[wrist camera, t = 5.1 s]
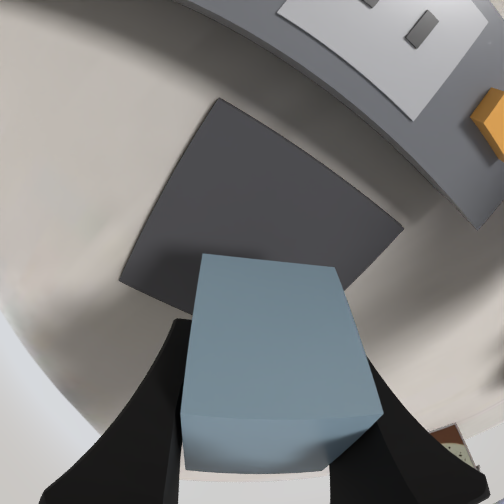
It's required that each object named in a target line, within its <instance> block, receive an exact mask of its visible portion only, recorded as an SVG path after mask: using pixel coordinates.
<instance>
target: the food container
mask: <svg viewBox="0 0 504 504" xmlns="http://www.w3.org/2000/svg"><path fill="white" fill-rule="evenodd" d="M429 433H430V434H431V435H432V436H433V437H434V438H435V439H436V440H437V441H438V442H440V443H441V444H442V445H443V446H444V447H445V448H447V449H448V450H449V451H450V452H452V453H453V454H454V455H456V456H457V457H458V458H460V459H461V460H462V461H464V462H465V463H467V464H468V465H470V466H471V467H473V468H475V469H476V470H478V471H479V472H480V465H478V466H475V464H474V461H473V459H472V457H471V454H470V452H469V450H468V448H467V445H466V443H465V441H464V439H463V437H462V434H461V432H460V430H459V428H458V426H457V424H456V422H455V423H453V424H450V425H447V426H444V427H441V428H439V429H436V430H433V431H430V432H429Z"/></svg>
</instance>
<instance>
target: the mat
mask: <svg viewBox="0 0 504 504" xmlns="http://www.w3.org/2000/svg"><path fill="white" fill-rule="evenodd" d="M403 230H404V228H403V227H402V225H401V224H400V223H398V222H397V221H396V220H395V219H394V218H392V217H391V216H390V215H389V214H388V213H386V212H385V211H384V210H383V209H381V208H380V207H379V206H378V205H376V204H375V203H374V202H373V201H371V200H370V199H369V198H368V197H366V196H365V195H364V194H363V193H361V192H360V191H359V190H357V189H356V188H355V187H353V186H352V185H351V184H349V183H348V182H347V181H345V180H344V179H343V178H341V177H340V176H339V175H337V174H336V173H335V172H333V171H332V170H331V169H329V168H328V167H326V166H325V165H324V164H322V163H321V162H319V161H318V160H317V159H315V158H314V157H312V156H311V155H309V154H308V153H307V152H305V151H304V150H302V149H301V148H299V147H298V146H296V145H295V144H293V143H292V142H290V141H289V140H287V139H286V138H284V137H283V136H281V135H280V134H278V133H277V132H275V131H274V130H272V129H270V128H269V127H267V126H266V125H264V124H263V123H261V122H259V121H258V120H256V119H255V118H253V117H251V116H250V115H248V114H246V113H245V112H243V111H241V110H240V109H238V108H236V107H235V106H233V105H231V104H230V103H228V102H226V101H224V100H223V99H221V98H218V100H217V101H216V103H215V104H214V106H213V107H212V109H211V111H210V112H209V114H208V115H207V117H206V118H205V120H204V122H203V123H202V125H201V126H200V128H199V130H198V131H197V133H196V135H195V136H194V138H193V140H192V141H191V143H190V145H189V146H188V148H187V150H186V151H185V153H184V155H183V156H182V158H181V160H180V162H179V163H178V165H177V167H176V169H175V170H174V172H173V174H172V176H171V177H170V179H169V181H168V183H167V185H166V187H165V188H164V190H163V192H162V194H161V196H160V198H159V200H158V201H157V203H156V205H155V207H154V209H153V211H152V213H151V215H150V217H149V219H148V221H147V223H146V225H145V227H144V229H143V231H142V233H141V235H140V237H139V239H138V241H137V243H136V245H135V247H134V249H133V251H132V253H131V255H130V257H129V260H128V262H127V264H126V266H125V268H124V270H123V273H122V275H121V277H120V279H119V281H120V282H122V283H124V284H126V285H128V286H130V287H132V288H134V289H136V290H139V291H141V292H143V293H145V294H147V295H149V296H151V297H153V298H156V299H158V300H160V301H162V302H164V303H166V304H169V305H171V306H173V307H175V308H178V309H180V310H182V311H184V312H187V313H189V314H191V315H193V311H194V304H195V298H196V291H197V285H198V278H199V272H200V266H201V260H202V254H212V255H222V256H231V257H240V258H250V259H259V260H269V261H278V262H288V263H298V264H307V265H317V266H327V267H335V269H336V272H337V275H338V277H339V280H340V283H341V285H342V288H343V291H344V290H345V289H347V288H348V287H349V286H350V285H351V284H352V283H353V282H354V281H355V280H356V279H357V278H358V277H359V276H360V275H361V274H362V273H363V272H364V271H365V270H366V269H367V268H368V267H369V266H370V265H371V264H372V263H373V262H374V260H375V259H376V258H377V257H378V256H379V255H380V254H381V253H382V252H383V251H384V250H385V249H386V248H387V247H388V246H389V245H390V244H391V243H392V242H393V241H394V239H395V238H396V237H397V236H398V235H399V234H400V233H401V232H402V231H403Z"/></svg>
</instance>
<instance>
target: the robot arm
mask: <svg viewBox="0 0 504 504" xmlns="http://www.w3.org/2000/svg"><path fill="white" fill-rule="evenodd" d="M191 325H192V320H186V319H178V318H177V319H175V320H174V321H173V324H172V327H171V329H170V331H169V334H168V336H167V338H166V340H165V342H164V344H163V346H162V348H161V350H160V352H159V354H158V356H157V357H156V359H155V361H154V363H153V364H152V366H151V368H150V370H149V371H148V373H147V375H146V376H145V378H144V379H143V381H142V383H141V384H140V386H139V387H138V389H137V390H136V392H135V393H134V395H133V396H132V398H131V399H130V401H129V402H128V403H127V405H126V406H125V407H124V409H123V410H122V412H121V413H120V414H119V415H118V417H117V418H116V419H115V421H114V422H113V423H112V424H111V425H110V427H109V428H108V429H107V430H106V431H105V433H104V434H103V435H102V436H101V437H100V438H99V440H98V441H97V442H96V443H95V444H94V445H93V446H92V447H91V448H90V449H89V450H88V451H87V452H86V453H85V454H84V455H83V456H82V457H81V458H80V459H79V460H78V461H77V462H76V463H75V464H74V465H73V466H72V467H71V468H70V469H69V470H68V471H67V472H65V473H64V474H63V475H62V476H61V477H60V478H59V479H57V480H56V481H55V482H54V483H52V484H51V485H50V486H49V487H48V488H46V489H45V490H44V492H43V494H42V496H41V498H40V501H39V504H178V492H179V472H180V456H181V447H182V440H183V439H182V427H181V415H180V413H181V404H182V395H183V386H184V378H185V370H186V362H187V354H188V347H189V339H190V332H191ZM366 357H367V356H366ZM367 360H368V363H369V367H370V370H371V373H372V376H373V379H374V383H375V386H376V389H377V392H378V396H379V399H380V403H381V406H382V409H383V413H384V414H383V415H382V416H381V417H380V418H379V419H378V420H377V421H376V422H375V423H374V424H373V425H372V426H371V427H370V428H369V429H368V430H367V431H366V432H365V433H364V434H363V435H362V436H361V437H360V438H358V439H357V440H356V441H355V442H354V443H353V444H352V445H351V446H350V447H349V448H348V449H347V450H345V451H344V452H343V453H342V454H341V455H340V456H339V457H337V458H336V459H335V460H334V461H333V462H332V463H330V464H329V468H330V504H478V503H480V502H482V501H484V500H486V499H487V498H489V496H490V491H489V487H488V484H487V480H486V477H485V475H484V474H483V473H481V472H479V471H478V470H476V469H475V468H473V467H471V466H470V465H468V464H467V463H465V462H464V461H462V460H461V459H460V458H458V457H457V456H456V455H454V454H453V453H452V452H450V451H449V450H448V449H447V448H445V447H444V446H443V445H442V444H441V443H440V442H438V441H437V440H436V439H435V438H434V437H433V436H432V435H431V434H430V433H429V432H427V431H426V430H425V429H424V428H423V427H422V426H421V424H420V423H419V422H418V421H417V420H416V419H415V418H414V417H413V416H412V415H411V414H410V413H409V412H408V410H407V409H406V408H405V407H404V406H403V405H402V403H401V402H400V401H399V400H398V398H397V397H396V396H395V395H394V393H393V392H392V391H391V389H390V388H389V387H388V386H387V384H386V383H385V381H384V380H383V379H382V377H381V376H380V375H379V373H378V372H377V370H376V369H375V368H374V366H373V365H372V363H371V362H370V360H369V359H368V357H367ZM494 504H504V498H503V499H501V500H499V501H498V502H496V503H494Z"/></svg>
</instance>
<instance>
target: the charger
mask: <svg viewBox="0 0 504 504" xmlns="http://www.w3.org/2000/svg"><path fill="white" fill-rule="evenodd" d="M383 414H384V413H383V409H382V406H381V403H380V399H379V396H378V392H377V389H376V386H375V383H374V379H373V376H372V373H371V370H370V367H369V363H368V360H367V357H366V354H365V351H364V348H363V345H362V342H361V339H360V336H359V333H358V330H357V327H356V324H355V321H354V319H353V316H352V313H351V310H350V307H349V304H348V302H347V299H346V296H345V293H344V291H343V288H342V285H341V283H340V280H339V277H338V275H337V272H336V269H335V267H327V266H317V265H307V264H298V263H288V262H278V261H269V260H259V259H250V258H240V257H231V256H222V255H212V254H202V260H201V266H200V272H199V278H198V285H197V291H196V298H195V304H194V311H193V318H192V325H191V332H190V339H189V347H188V354H187V362H186V370H185V378H184V386H183V395H182V404H181V413H180V415H181V427H182V439H183V449H184V459H185V468H186V470H191V471H202V472H216V473H237V474H280V473H301V472H315V471H322V470H323V469H324V468H326V467H327V466H328V465H329V464H330V463H332V462H333V461H334V460H335V459H336V458H337V457H339V456H340V455H341V454H342V453H343V452H344V451H345V450H347V449H348V448H349V447H350V446H351V445H352V444H353V443H354V442H355V441H356V440H357V439H358V438H360V437H361V436H362V435H363V434H364V433H365V432H366V431H367V430H368V429H369V428H370V427H371V426H372V425H373V424H374V423H375V422H376V421H377V420H378V419H379V418H380V417H381V416H382V415H383Z"/></svg>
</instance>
